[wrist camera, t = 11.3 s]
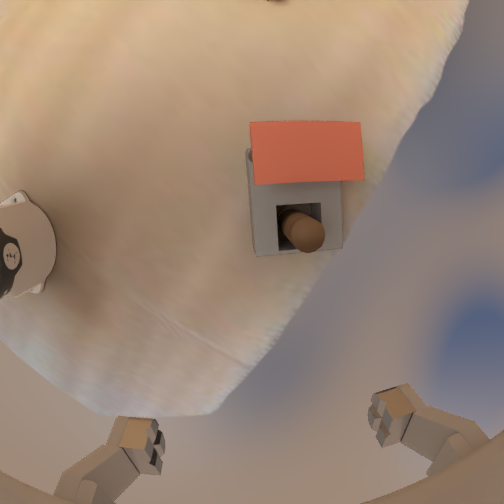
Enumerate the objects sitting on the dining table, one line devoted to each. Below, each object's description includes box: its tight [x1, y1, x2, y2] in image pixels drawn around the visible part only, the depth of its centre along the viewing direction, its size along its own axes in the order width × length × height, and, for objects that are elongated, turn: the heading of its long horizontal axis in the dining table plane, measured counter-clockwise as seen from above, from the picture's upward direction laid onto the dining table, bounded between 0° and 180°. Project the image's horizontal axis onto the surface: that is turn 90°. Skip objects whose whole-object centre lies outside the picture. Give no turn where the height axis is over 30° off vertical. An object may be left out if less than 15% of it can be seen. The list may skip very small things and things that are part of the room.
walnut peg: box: [278, 208, 325, 253], centre depth 37 cm, size 4×4×10 cm
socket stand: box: [246, 121, 364, 257], centre depth 35 cm, size 12×16×12 cm
